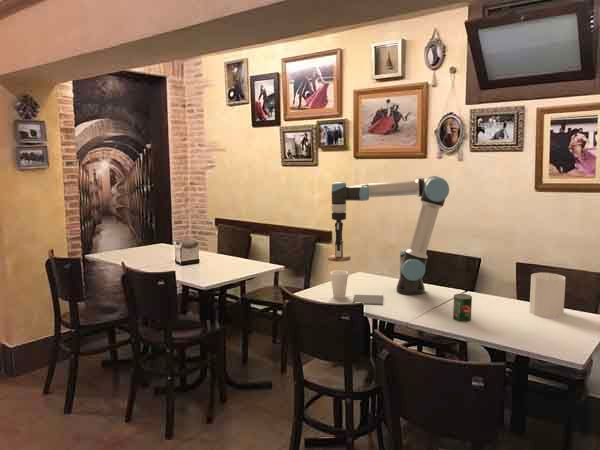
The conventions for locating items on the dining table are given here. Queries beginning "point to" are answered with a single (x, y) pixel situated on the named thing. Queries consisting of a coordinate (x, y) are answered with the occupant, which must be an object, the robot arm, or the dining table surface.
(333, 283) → the foam cup
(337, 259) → the lid
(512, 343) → the dining table surface
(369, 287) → the dining table surface
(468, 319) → the canned tomato
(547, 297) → the container
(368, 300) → the mat
